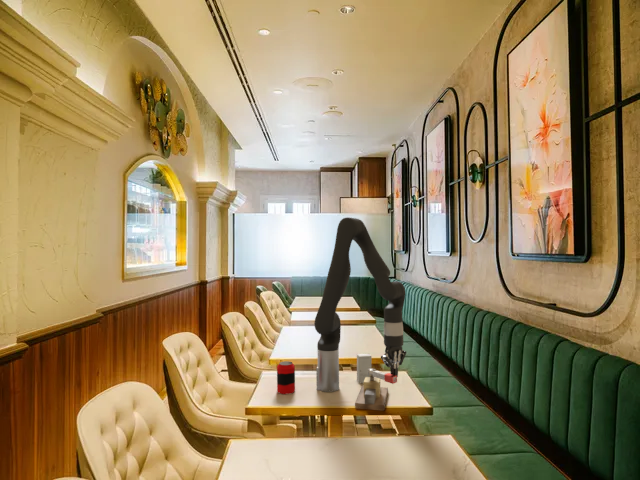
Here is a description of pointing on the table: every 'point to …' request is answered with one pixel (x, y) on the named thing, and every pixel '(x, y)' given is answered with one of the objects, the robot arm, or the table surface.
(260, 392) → the table surface
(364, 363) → the skincare box
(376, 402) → the valve stand
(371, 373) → the valve lever
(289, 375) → the soda can
